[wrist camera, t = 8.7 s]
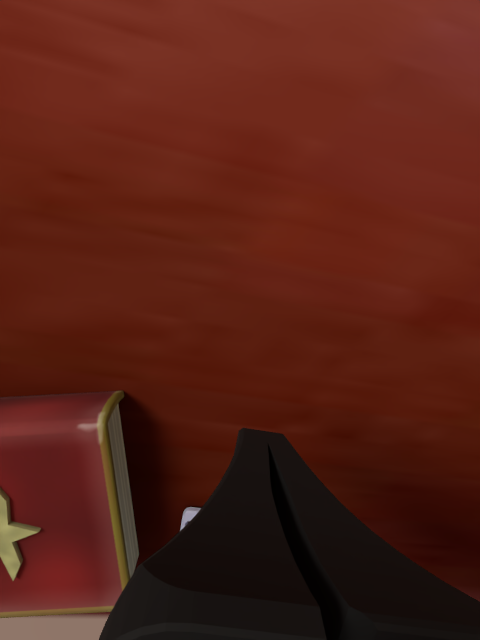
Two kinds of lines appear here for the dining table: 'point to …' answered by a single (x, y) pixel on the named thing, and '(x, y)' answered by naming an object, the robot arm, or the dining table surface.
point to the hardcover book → (64, 505)
